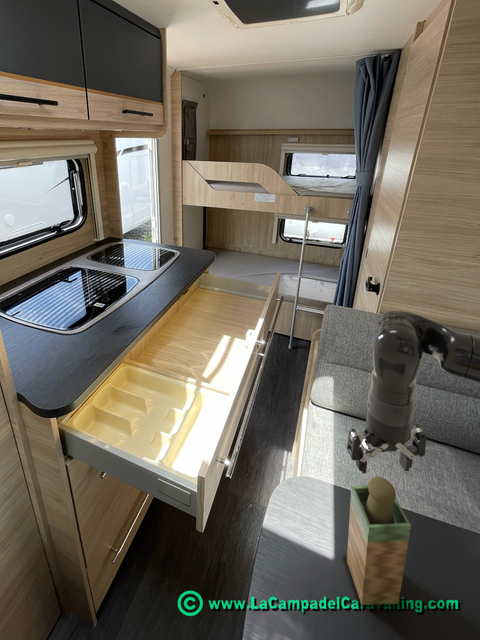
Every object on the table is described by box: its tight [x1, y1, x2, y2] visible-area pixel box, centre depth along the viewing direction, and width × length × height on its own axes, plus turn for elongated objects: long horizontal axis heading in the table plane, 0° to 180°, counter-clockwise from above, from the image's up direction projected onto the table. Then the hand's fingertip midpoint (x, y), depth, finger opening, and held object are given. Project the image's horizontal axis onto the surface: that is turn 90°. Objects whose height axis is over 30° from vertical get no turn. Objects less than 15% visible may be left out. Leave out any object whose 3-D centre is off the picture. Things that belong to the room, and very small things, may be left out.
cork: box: [364, 476, 397, 525], centre depth 71 cm, size 6×6×11 cm
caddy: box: [346, 484, 412, 606], centre depth 77 cm, size 9×9×30 cm
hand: (382, 468), depth 68 cm, fingers open, 8 cm apart
